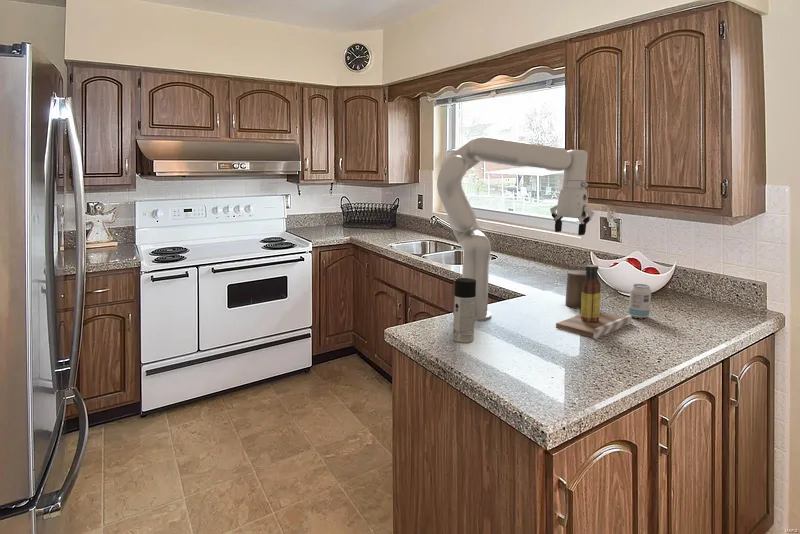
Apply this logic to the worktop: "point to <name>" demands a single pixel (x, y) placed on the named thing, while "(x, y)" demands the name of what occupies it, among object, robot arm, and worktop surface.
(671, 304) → the worktop surface
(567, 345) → the worktop surface
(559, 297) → the worktop surface
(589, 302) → the sauce bottle
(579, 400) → the worktop surface
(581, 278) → the pillar candle
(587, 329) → the shelf board
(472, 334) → the spray can
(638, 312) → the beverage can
